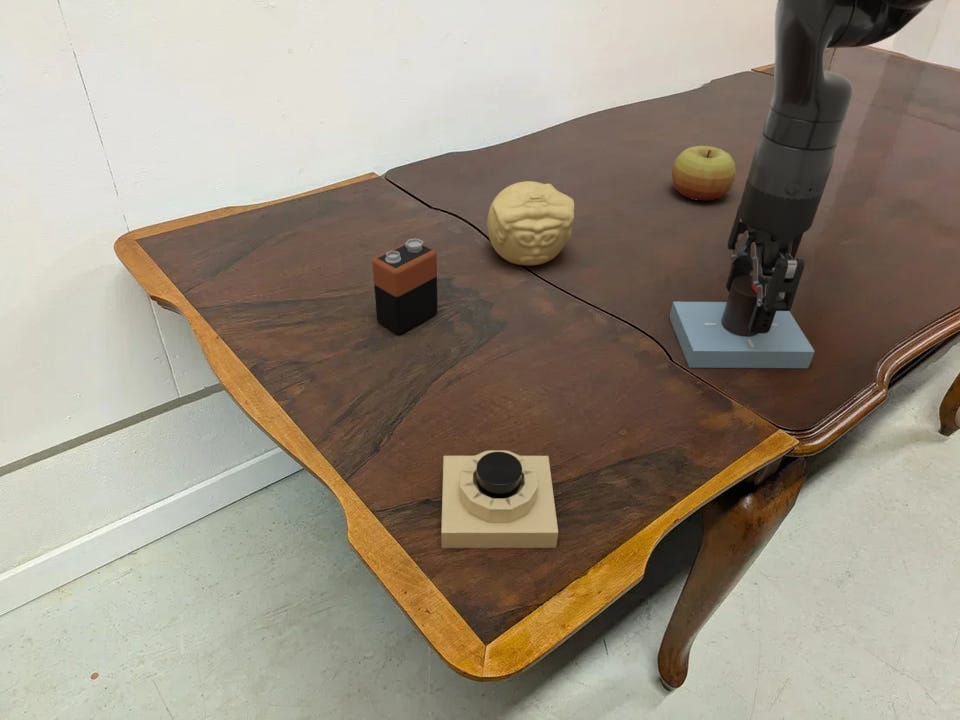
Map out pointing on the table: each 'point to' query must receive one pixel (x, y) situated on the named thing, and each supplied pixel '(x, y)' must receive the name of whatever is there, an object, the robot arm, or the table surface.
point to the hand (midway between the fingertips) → (745, 310)
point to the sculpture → (530, 222)
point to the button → (498, 474)
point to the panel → (737, 340)
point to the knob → (740, 306)
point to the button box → (498, 507)
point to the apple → (703, 172)
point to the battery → (405, 285)
